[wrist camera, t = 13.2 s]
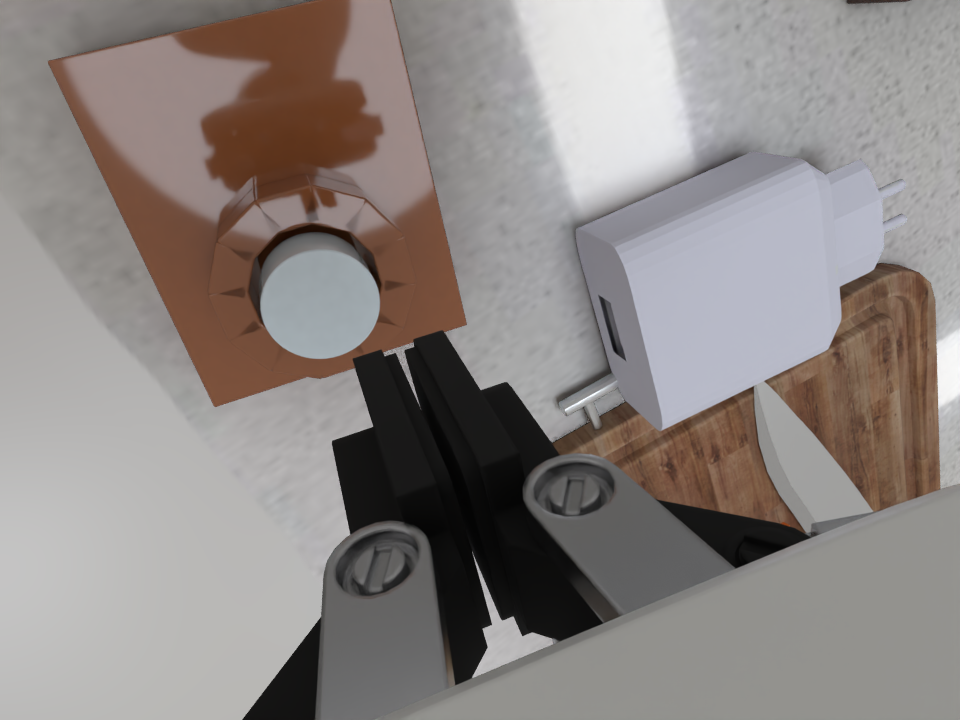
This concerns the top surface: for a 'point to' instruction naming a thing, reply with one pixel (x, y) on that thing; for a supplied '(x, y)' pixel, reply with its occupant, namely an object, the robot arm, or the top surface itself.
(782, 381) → the chopping board
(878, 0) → the brown flat block
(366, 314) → the round grey push button
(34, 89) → the top surface
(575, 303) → the top surface
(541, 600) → the robot arm
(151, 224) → the brown base with collar
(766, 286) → the charger
